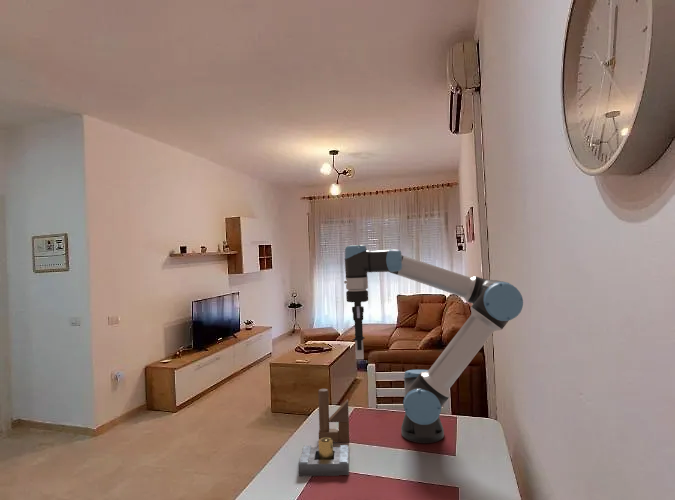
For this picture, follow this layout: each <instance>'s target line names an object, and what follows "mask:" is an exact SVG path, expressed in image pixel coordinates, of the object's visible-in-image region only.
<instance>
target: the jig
mask: <svg viewBox="0 0 675 500" xmlns="http://www.w3.org/2000/svg"><path fill="white" fill-rule="evenodd" d="M339 475H350V447H349V445H348V444H342V445H341V444H340V446H333V460H319V446H318V447H316V446H315V447H312V445H303V447H302V449H301V454H300V457H299V461H298V477H337V476H338V477H340V476H339Z"/></svg>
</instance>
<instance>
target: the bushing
mask: <svg viewBox="0 0 675 500" xmlns="http://www.w3.org/2000/svg"><path fill="white" fill-rule="evenodd" d="M333 445H334V442H333V440H332V439H331V438H321V439H319V438H318V447H319V460H333V447H334V446H333Z"/></svg>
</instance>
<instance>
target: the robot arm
mask: <svg viewBox="0 0 675 500" xmlns="http://www.w3.org/2000/svg"><path fill="white" fill-rule="evenodd" d="M344 267H345V268H344V269H345V280H344V281H343V283H344V284H345V286H346V288H345V289H346V290H347V291H346V292H345V293H346V299H345V300H346V302H347V303H353V304H354V306H352V307H351V312H352V320H353V321H354V338H353V339H352V341H353V342H355V343H354V345H355V346H354V347H355V360H364V359H365V358H364V357H365V356H364V339H365V336H363V335H364V334H363V332H364V330H363V320H364V313H365V309H364V306H362V303H366V302H368V301H369V291H368V290H367V289H369V283H368V279H369V278H368V273H387V272H388V273H390V274H393V275H397V276H400V277H403V278H406V279H409V280H412V281H414V282H416V283H420V284H423V285H426V286H429V287H431V288H434V289H438V290H441V291H444V292H447V293H449V294H452V295H456V296H459V297H460V298H463V299H464V300H465V301H466V302H467V303H470V304H472V305H471V307H470V311H471V313H470V315H469V317H468V318H467V319H466V321H465V322H464V323H463V325H462V326H461V327H460V328H459V330H458V331H457V333H456V334H455V335H454V336H453V338H452V339H451V340H450V342H449V343H448V344H447V345H446V347H445V348H444V350H443V351H442V352H441V354H440V355H438V358H436V360H435V361H434V362H433V364H432V365H431V367H430V368H429V369H409V370H406V371H405V372H404V377H403V380H404V381H403V382H404V393H403V400H402V405H403V409H404V417H403V419H402V423H401V428H400V429H401V431H400V432H401V433H400V434H401V436H402V437H403V438H404V439H406V440H408V441H410V442H413V443H418V444H433V443H437V442H439V441H441V440H443V438H444V437H445V431H444V430H445V429H444V426H443V423H442V420H441V418H440V415H441V412H442V407H443V406H444V405H445V404H446V402H447V401H448V399H450V397H451V392H450V391H451V390H450V389H451V387H452V386H453V385H454V384H455V382H456V381H457V380H458V378H459V377H460V376H461V375H462V374H463V372H464V370H465V369H467V367H468V366H469V364H470V363H471V362H472V360H474V358H475V356H476V355H477V354H478V352H479V351H480V350H481V349H482V348H483V346H484V345H485V344H486V343H487V341H488V340H489V339H490V337H491V336H492V335H493V334H494V332H497V331H502V330H503V329H504V327H505V326H506V325H507V324H508V322H510V321H511V320H514V319H515V318H517V317H518V316H519V315H520V313H521V312H522V310H523V306H524V299H523V296H522V294H521V291H520V290H519V289H518V288H517V287H516V286H514V285H513V284H511V283H510V282H507V281H500V280H497V279H494V280H493V279H487V278H482V277H479V276H476V275H474V276H472V277H470V276H466V275H463V274H460V273H457V272H454V271H451V270H449V269H446V268H443V267H439V266H436V265H433V264H429V263H428V262H424V261H422V260H421V261H420V260H417V259H415V258H412V257H408V256H405V255H402V251H401V250H400V249H381V250H380V249H378V250H368V249H367V246H366V245H365V244H359V245H358V244H357V245H355V244H354V245H347V246H346V247H345V249H344Z"/></svg>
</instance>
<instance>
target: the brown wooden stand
mask: <svg viewBox="0 0 675 500" xmlns="http://www.w3.org/2000/svg"><path fill="white" fill-rule="evenodd" d="M317 392H318V421H319V423H318V425H319V428H318V440H319V439H321V438H331V439H332V440H333V443H350V420H349V399H348V398H347V399H346V400H345V401H344V402H343V403H342V404H341V405H340V406H339V407H338V408H337V409H336V410H335V412H333V414H331V416H330V406H329V405H330V403H329V401H330V400H329V389H328V388H320V389H318V390H317ZM330 423H338V429H336V428H330Z"/></svg>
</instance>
